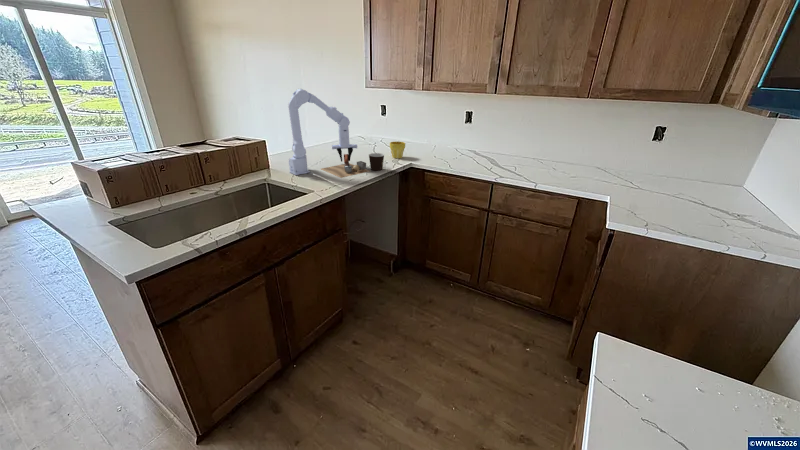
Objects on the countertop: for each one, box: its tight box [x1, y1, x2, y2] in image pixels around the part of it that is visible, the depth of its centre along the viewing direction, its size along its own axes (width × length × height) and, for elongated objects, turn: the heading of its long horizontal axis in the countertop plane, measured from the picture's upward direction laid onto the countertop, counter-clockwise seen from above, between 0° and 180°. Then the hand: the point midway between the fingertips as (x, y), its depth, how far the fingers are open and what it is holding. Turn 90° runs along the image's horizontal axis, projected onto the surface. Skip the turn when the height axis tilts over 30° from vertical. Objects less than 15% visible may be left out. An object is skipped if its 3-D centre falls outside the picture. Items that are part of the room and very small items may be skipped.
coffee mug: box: [368, 152, 385, 172], centre depth 192 cm, size 12×9×10 cm
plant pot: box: [389, 141, 406, 159], centre depth 223 cm, size 10×10×10 cm
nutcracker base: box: [320, 160, 371, 179], centre depth 189 cm, size 20×22×6 cm
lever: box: [343, 153, 352, 173], centre depth 191 cm, size 18×4×6 cm, turn 13°
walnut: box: [353, 164, 360, 171], centre depth 187 cm, size 4×4×4 cm
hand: (345, 160), depth 197 cm, fingers open, 4 cm apart
